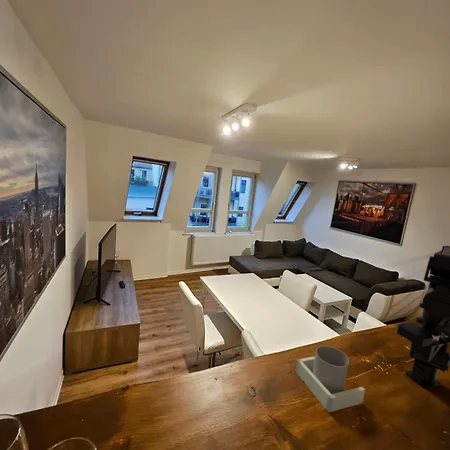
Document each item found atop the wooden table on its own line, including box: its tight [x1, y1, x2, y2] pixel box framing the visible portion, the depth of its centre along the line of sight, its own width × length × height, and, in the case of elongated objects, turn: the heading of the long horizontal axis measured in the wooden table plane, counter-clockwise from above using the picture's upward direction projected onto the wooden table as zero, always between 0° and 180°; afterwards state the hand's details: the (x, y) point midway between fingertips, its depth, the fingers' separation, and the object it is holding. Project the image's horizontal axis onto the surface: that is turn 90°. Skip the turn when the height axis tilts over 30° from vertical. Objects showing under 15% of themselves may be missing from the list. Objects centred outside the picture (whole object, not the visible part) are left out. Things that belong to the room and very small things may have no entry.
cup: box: [311, 345, 350, 394], centre depth 68 cm, size 8×8×10 cm
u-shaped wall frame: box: [295, 355, 366, 413], centre depth 69 cm, size 11×14×4 cm
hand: (426, 360), depth 64 cm, fingers closed
